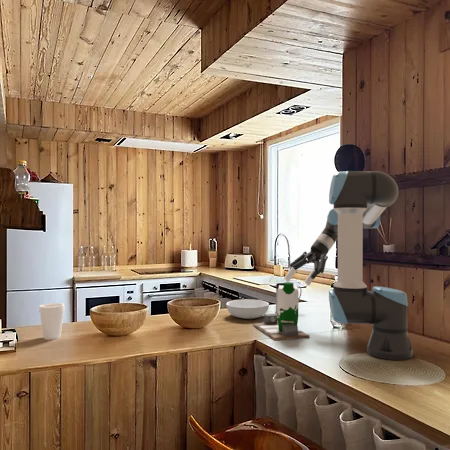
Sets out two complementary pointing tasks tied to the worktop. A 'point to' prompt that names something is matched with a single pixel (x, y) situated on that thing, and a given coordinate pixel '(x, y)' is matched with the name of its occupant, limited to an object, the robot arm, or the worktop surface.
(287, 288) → the soya milk
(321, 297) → the worktop surface
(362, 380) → the worktop surface
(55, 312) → the foam cup
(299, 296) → the white pitcher
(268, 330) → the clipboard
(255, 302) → the serving bowl
